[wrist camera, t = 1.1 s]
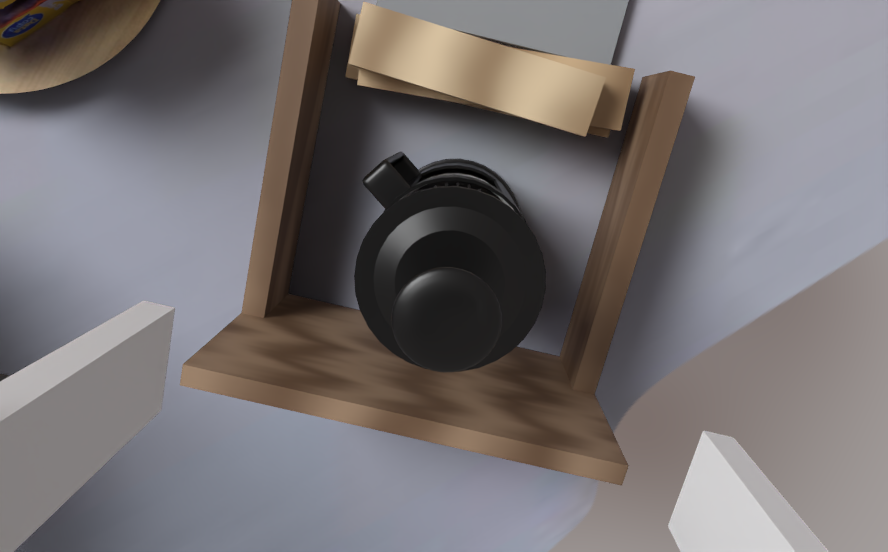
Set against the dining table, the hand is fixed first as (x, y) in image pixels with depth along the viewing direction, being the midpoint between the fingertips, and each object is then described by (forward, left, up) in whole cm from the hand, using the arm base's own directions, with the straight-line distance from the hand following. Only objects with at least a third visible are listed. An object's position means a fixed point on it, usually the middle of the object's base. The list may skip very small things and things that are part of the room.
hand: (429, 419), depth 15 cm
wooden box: (0, +1, -31) cm, 31 cm away
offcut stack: (0, +10, -32) cm, 33 cm away
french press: (0, 0, -32) cm, 32 cm away
